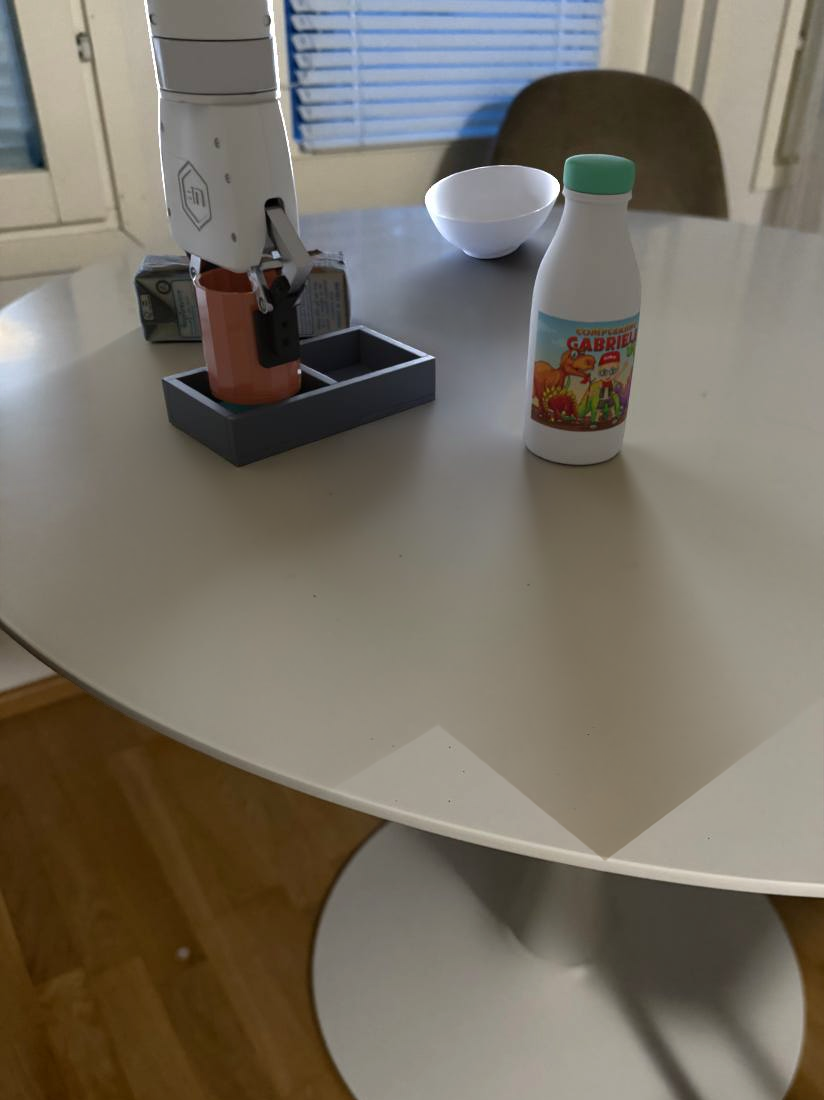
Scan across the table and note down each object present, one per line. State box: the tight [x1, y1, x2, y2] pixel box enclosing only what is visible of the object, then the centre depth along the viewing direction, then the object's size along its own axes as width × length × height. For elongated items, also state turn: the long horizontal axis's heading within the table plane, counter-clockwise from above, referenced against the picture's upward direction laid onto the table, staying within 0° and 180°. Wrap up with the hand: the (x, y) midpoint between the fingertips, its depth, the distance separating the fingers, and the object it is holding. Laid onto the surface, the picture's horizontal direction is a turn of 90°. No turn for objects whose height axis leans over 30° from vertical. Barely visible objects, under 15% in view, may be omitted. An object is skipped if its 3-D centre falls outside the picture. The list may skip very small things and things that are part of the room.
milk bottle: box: [522, 153, 642, 466], centre depth 67 cm, size 8×8×20 cm
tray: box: [161, 324, 437, 467], centre depth 76 cm, size 10×19×4 cm, turn 133°
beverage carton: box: [132, 248, 353, 342], centre depth 89 cm, size 8×19×7 cm, turn 98°
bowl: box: [424, 164, 560, 260], centre depth 116 cm, size 30×15×6 cm, turn 167°
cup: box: [193, 267, 301, 405], centre depth 70 cm, size 7×7×8 cm
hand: (250, 346), depth 71 cm, fingers closed on cup, 6 cm apart
